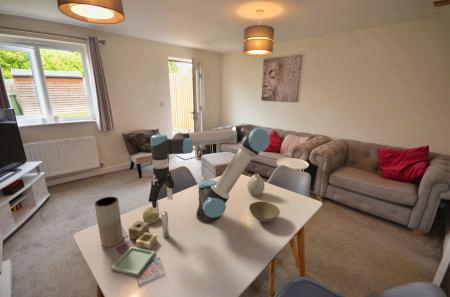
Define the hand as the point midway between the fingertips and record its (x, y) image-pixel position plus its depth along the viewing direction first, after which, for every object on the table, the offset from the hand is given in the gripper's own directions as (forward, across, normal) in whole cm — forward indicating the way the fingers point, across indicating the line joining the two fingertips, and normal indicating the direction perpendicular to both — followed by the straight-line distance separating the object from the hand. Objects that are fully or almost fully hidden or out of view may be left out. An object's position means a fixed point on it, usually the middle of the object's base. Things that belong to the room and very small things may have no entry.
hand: (163, 205), depth 103 cm
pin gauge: (+18, 0, 0) cm, 18 cm away
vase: (+18, -60, +42) cm, 76 cm away
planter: (+19, +10, -25) cm, 33 cm away
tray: (+18, +19, -5) cm, 27 cm away
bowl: (+18, -28, +50) cm, 60 cm away
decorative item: (+19, -11, -16) cm, 27 cm away
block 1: (+18, +3, -14) cm, 23 cm away
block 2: (+18, +8, -6) cm, 21 cm away
